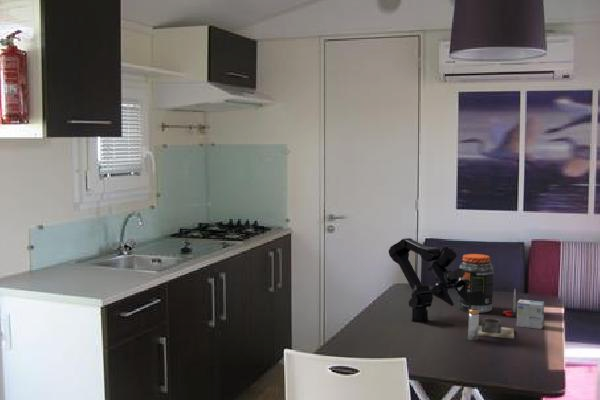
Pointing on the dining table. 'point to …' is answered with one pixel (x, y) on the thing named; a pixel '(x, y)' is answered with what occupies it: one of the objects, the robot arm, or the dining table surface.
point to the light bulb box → (530, 314)
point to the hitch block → (494, 329)
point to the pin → (473, 324)
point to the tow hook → (513, 312)
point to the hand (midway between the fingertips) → (460, 304)
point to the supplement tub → (477, 282)
